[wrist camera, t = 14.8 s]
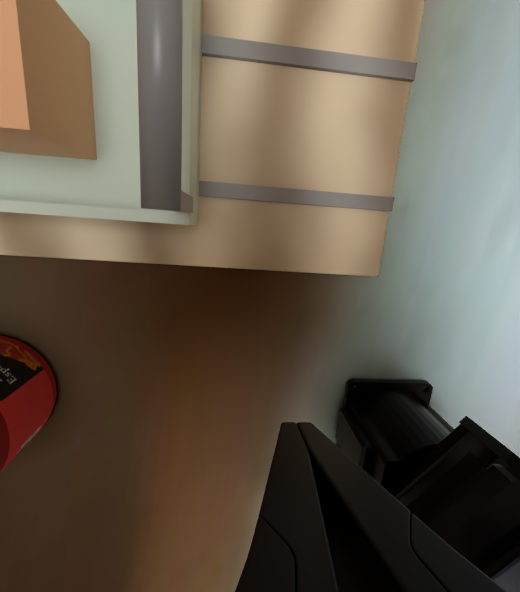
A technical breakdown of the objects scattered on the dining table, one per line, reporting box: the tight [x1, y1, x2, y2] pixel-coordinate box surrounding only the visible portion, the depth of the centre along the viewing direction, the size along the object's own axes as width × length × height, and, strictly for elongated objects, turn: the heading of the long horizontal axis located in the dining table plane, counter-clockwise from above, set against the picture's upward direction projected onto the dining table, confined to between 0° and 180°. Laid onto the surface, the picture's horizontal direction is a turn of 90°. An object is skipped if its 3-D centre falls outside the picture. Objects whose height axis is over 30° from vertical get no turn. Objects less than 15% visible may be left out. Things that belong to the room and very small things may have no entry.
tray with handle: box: [0, 0, 203, 225], centre depth 11 cm, size 12×11×9 cm
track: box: [0, 0, 425, 277], centre depth 15 cm, size 27×16×4 cm, turn 86°
